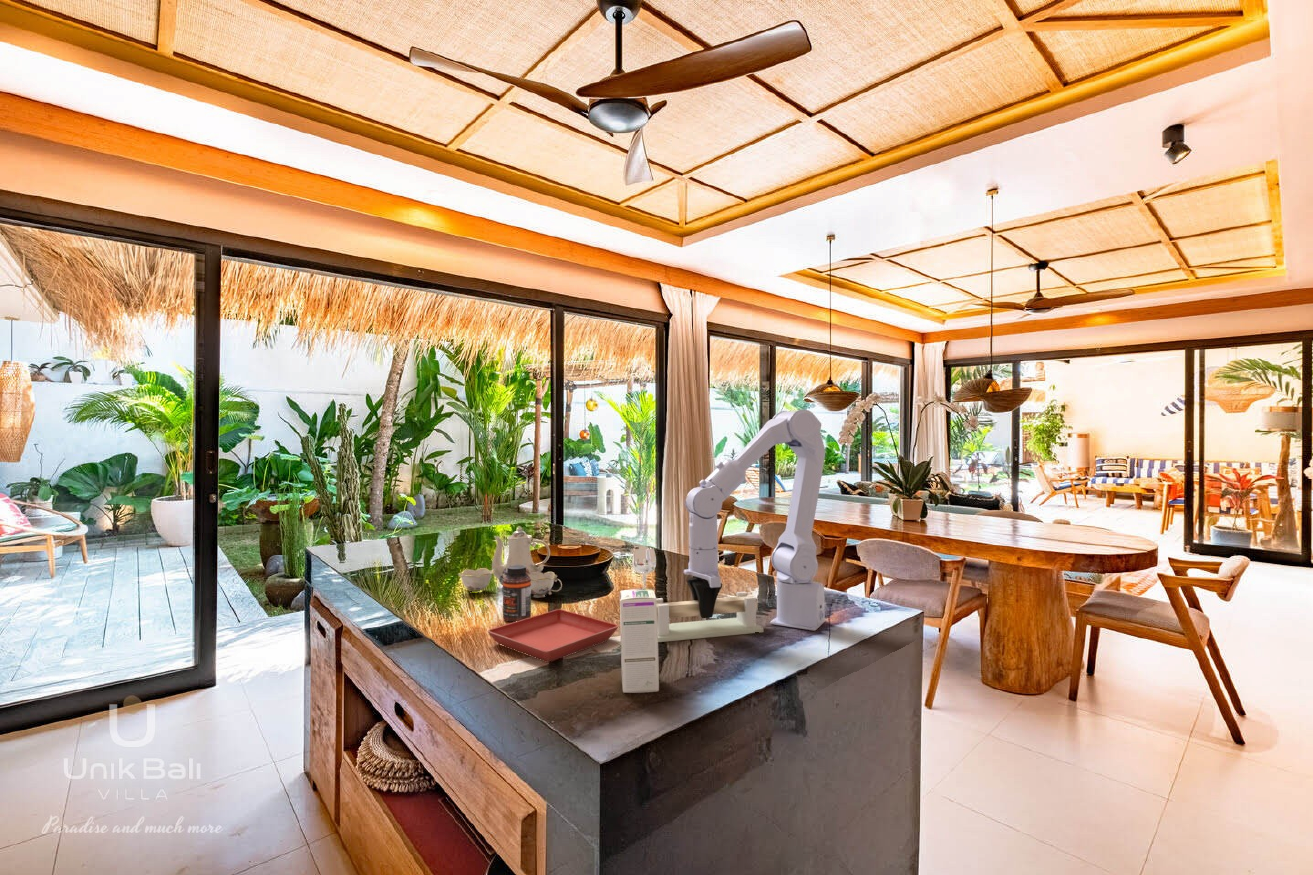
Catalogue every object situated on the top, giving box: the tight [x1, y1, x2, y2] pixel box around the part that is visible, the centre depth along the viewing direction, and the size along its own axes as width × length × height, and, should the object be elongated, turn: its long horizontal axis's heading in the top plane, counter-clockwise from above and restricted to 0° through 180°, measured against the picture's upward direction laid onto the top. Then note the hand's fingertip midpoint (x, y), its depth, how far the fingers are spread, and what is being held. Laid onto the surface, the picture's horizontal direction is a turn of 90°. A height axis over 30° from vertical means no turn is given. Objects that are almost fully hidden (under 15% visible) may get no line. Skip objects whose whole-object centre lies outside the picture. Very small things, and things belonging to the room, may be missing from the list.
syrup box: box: [619, 588, 660, 694], centre depth 96 cm, size 6×6×14 cm
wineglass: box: [631, 545, 657, 589], centre depth 149 cm, size 6×6×12 cm
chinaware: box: [457, 525, 563, 599], centre depth 156 cm, size 28×17×17 cm, turn 80°
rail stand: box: [656, 591, 764, 643], centre depth 123 cm, size 22×8×6 cm, turn 104°
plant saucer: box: [487, 608, 620, 663], centre depth 117 cm, size 18×18×3 cm
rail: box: [657, 595, 759, 619], centre depth 123 cm, size 22×2×2 cm, turn 104°
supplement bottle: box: [502, 565, 532, 622], centre depth 132 cm, size 6×6×11 cm
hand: (704, 615), depth 123 cm, fingers closed on rail, 2 cm apart
